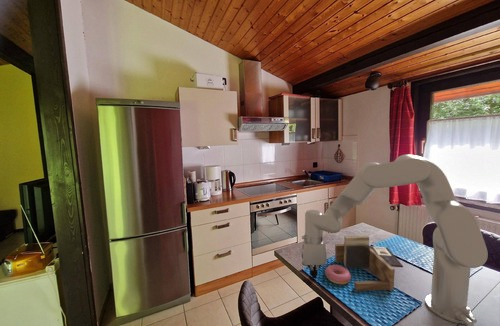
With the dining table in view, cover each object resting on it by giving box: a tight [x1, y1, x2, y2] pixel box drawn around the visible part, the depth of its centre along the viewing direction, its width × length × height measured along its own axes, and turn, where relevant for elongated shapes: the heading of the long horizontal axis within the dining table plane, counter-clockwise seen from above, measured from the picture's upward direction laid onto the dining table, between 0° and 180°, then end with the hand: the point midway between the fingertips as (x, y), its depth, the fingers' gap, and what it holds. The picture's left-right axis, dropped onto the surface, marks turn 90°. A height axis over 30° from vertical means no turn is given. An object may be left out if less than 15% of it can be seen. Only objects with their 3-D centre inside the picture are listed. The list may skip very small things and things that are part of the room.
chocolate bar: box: [369, 245, 404, 268], centre depth 113 cm, size 9×1×18 cm
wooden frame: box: [334, 234, 396, 292], centre depth 99 cm, size 22×16×15 cm
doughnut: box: [324, 264, 352, 285], centre depth 97 cm, size 11×11×4 cm
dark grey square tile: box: [345, 244, 370, 269], centre depth 104 cm, size 1×11×11 cm, turn 90°
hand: (313, 276), depth 97 cm, fingers closed
